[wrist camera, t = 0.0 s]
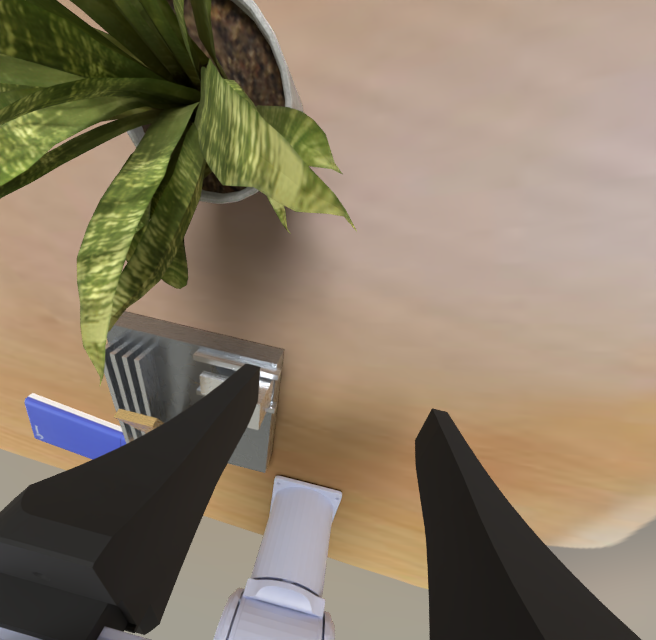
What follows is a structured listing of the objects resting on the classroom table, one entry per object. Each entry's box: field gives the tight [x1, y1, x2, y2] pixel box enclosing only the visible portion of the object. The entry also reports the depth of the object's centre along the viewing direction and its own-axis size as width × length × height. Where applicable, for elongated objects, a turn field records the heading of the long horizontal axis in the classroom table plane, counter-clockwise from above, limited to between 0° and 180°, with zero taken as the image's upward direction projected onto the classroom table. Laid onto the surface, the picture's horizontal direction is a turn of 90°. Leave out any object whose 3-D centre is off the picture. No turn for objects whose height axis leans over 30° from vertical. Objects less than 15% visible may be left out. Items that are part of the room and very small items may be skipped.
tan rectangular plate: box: [114, 409, 164, 433], centre depth 24 cm, size 11×3×1 cm, turn 171°
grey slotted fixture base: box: [104, 311, 284, 473], centre depth 26 cm, size 15×15×4 cm
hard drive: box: [25, 393, 126, 459], centre depth 35 cm, size 2×8×12 cm
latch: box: [199, 371, 274, 430], centre depth 22 cm, size 3×5×3 cm, turn 80°
